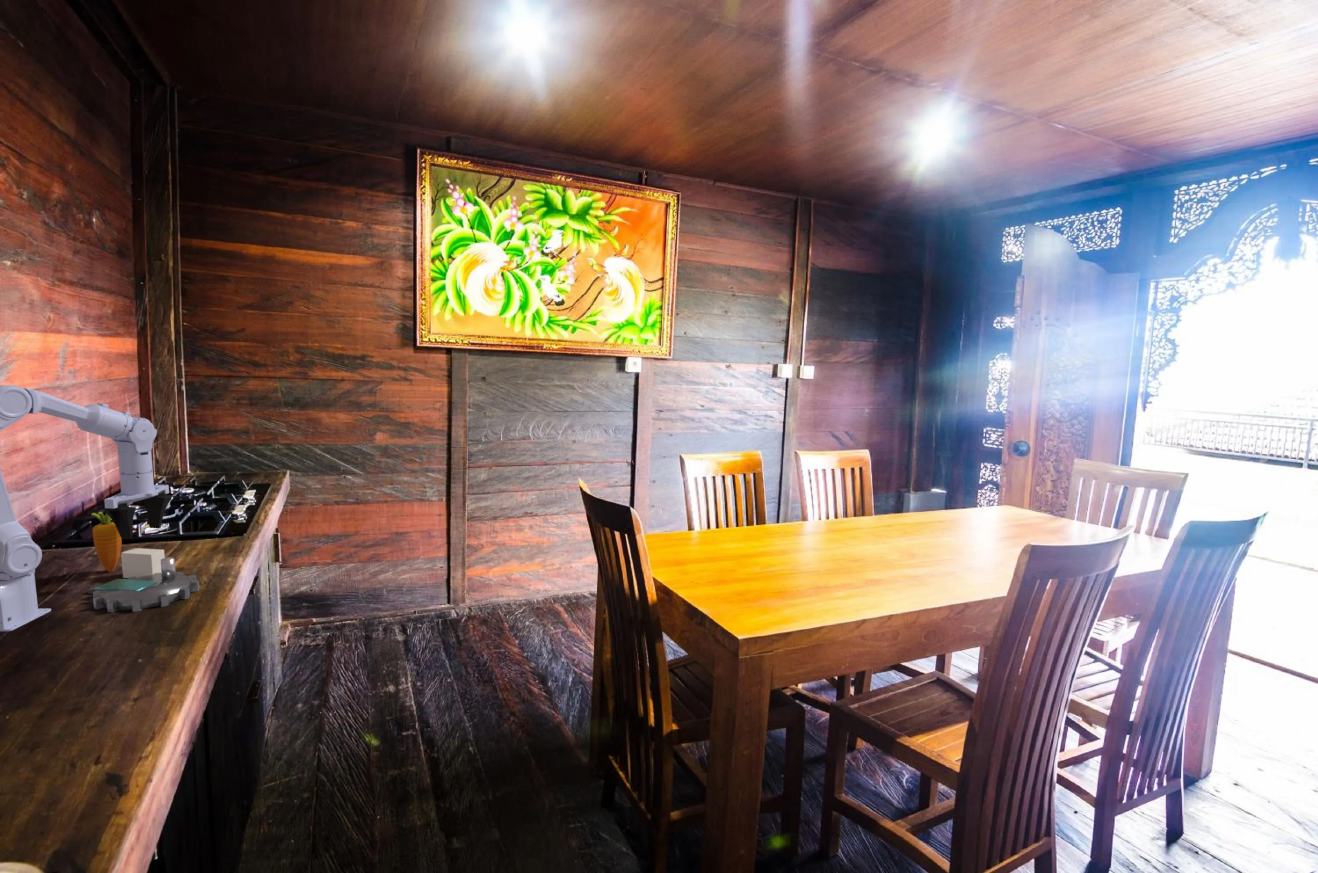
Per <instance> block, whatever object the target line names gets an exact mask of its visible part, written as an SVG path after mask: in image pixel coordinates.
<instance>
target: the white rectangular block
mask: <svg viewBox="0 0 1318 873" xmlns="http://www.w3.org/2000/svg"><path fill="white" fill-rule="evenodd" d="M120 558H121V569H122V579H126V578H127V579H128V578H129V577H133V576H135V577H142V576H149V575H153V574H154V573H160V572H161V559H163V558H166V556H165V549H155V548H138V547H134V548H130V549H128V550H125V551H122V552H121V553H120ZM161 574H162V573H161Z"/></svg>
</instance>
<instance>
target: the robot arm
mask: <svg viewBox="0 0 1318 873" xmlns="http://www.w3.org/2000/svg"><path fill="white" fill-rule="evenodd" d="M37 413H41V414H45V415H49V416H53V417H56V418H59V419H63V420H64V419H65V420H68V421H72V422H75V423H76V425H77V427H78V429H80V430H81V431H84V432H87V433H91V434H95V435H98V436H102V437H105V438H108V439H111V440H112V441H113V442H115V443H116V446H117V458H118V471H119V482H120V483H119V484H120V492H119V493H117V494H115V495H112V496H111V497H108V498H105V499H104V500H103V501H104V507H103V510H104V512H105V514H106V513H107V514H108V515H109V517H110V518H111V522H114V524H115V526H116V528H117V530H118V532H119V534H120V537H121V538H122V539H132V538H133V535H134V534H133V533H134V528H133V527H134V523H133V522H134V516H135V513H136V510H137V507H136V506H130V505H128V504H132V503H134V502H139V501H142V503H143V505H144V508H145V511H146V513H147V514H146V515H147V522H148V525H149V529H161V527H162V523H163V520H164V515H165V512H166V509H167V507H168V506H169V504H170V501H172V496H171V495H169V494H170V489H169V488H170V487H169V486H170V485H169V484H157V485H155V484H154V483H155V482H154V472H153V471H154V470H153V468H154V467H153V459H152V457H153V456H152V449H153V448H154V446H153V442H154V441H155V438H156V437H157V433H158V429H156V428H155V426H154V425H153V423H152V422H151V420H149V419H147V418H145V417H134V416H133V417H132V416H131V412H128V411H118V410H115V409H113V408H109V404H106V403H102V402H98V403H97V404H96V403H91V404H90V403H89V404H88V405H85V406H82V405H79V404H76V403H74V402H71V401H68V400H65V399H62V398H59V397H57V396H54V395H51V394H48V393H46V392H43V391H40V390H36V389H33V388H26V387H25V388H24V387H21V386H18V385H15V384H7V385H5V384H4V385H3V384H1V385H0V432H2V431H3V430H5V429H6V428H9V427H10V426H12V425H13V424H15V423H16V422H18V421H20V420H22V419H23V418H24V417H26V416H27V415H28V414H37ZM42 558H43V551H42V549H41V547H40V546H39V545H38V544H37V543H35V541H33V539H32V537H31V534H30V532H29V531H28V530H27V529H26V528H25V527H23V526H22V525H21V524H20V523H19V522H18V520H17V517H16V514H15V512H14V509H13V505H12V502H11V498H10V496H9V492H8V489H7V486H6V482H5V479H4V477H3V473H2V469H1V468H0V632H12V631H14V630H16V629H19V628H20V627H22V626H24V625H26V624H28V623H30V622H31V621H34V620H36V619H38V618H40V617H41V616H42V617H43V616H44V615H46V614H48V613H50V612H51V611H52V608H39V607H38V605H39V604H38V596H37V587H36V578H35V573H36V569H37V567H38V566H39V565H40V563H41V561H42Z"/></svg>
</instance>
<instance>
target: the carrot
mask: <svg viewBox="0 0 1318 873" xmlns="http://www.w3.org/2000/svg"><path fill="white" fill-rule="evenodd" d="M90 516H92V517H95V518H96V519H97V520H99V522H100V523H99V524H96V525H94V526H93V527H92V537H93V538H92V539H93V545H94V548H95V552H96V555H97V558H98V560H99V562H100V564H101V565H102V567H103V568H104V569H105V570H106V572H108V573H112V572H114V571H115V569H116V567H117V565H118V563H119V560H120V558H121V553H122V552H121V551H122V545H123V544H122V542H123V541H122V539H123V538H121V537H120V534H119V532H118V530H117V528H116V526H115V524H114V522H113V521H112V519H111V518H110V517H109V515H108V514H107V513H106V512H105V515H104V513H103V512H102V511H98V513H95V512H92V513H91V515H90Z"/></svg>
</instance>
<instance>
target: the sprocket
mask: <svg viewBox="0 0 1318 873" xmlns="http://www.w3.org/2000/svg"><path fill="white" fill-rule="evenodd" d="M161 573H162V574H161ZM199 582H200V581H199V579H198V578H197V575H196V574H191V575H185V574H184V572H183V571H177V572H176V563H175V557H170V556H169V557H168V556H167V557H165V558H163V559H161V572H160V573H154V574H153V575H149V576H142V577H135V576H133V577H129V578H127V579H126V578H116V579H113V580H111V581H109V582H106V583H103V584H101V585H98V586H94V587H95V589H103V590H99V591H94V592H93V594H92V601H93V609H95V610H100V609H107V613H112V614H113V613H117V612H118V611H132V613H136V612H141V611H142V610H143V609H149V608H154V607H161V608H164V607H168V606H169V605H170V603H174V602H176V601H179V600H187V599H189V598H191V593H193V592H194V593H195V592H199V591H200V583H199Z"/></svg>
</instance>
